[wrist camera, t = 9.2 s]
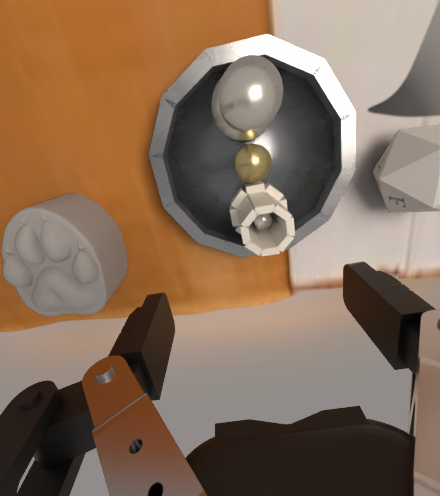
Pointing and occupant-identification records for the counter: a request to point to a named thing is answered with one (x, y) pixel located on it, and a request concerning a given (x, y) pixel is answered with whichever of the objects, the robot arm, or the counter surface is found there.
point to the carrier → (253, 139)
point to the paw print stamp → (64, 256)
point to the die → (411, 171)
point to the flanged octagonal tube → (257, 203)
